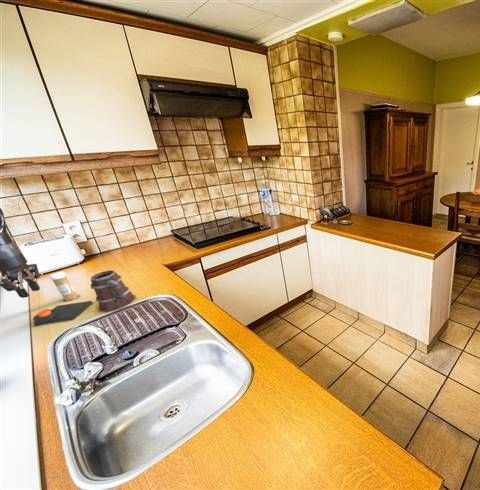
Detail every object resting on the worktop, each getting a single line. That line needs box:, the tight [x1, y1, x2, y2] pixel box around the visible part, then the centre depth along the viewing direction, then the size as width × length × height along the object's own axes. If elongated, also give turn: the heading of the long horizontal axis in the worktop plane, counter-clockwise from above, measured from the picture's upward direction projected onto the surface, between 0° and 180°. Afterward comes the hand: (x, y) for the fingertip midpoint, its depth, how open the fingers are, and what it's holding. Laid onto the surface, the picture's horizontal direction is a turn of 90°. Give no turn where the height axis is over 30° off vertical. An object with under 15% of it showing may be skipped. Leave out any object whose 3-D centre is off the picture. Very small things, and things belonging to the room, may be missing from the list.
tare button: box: [36, 308, 52, 318], centre depth 109 cm, size 4×4×2 cm
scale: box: [32, 300, 93, 326], centre depth 114 cm, size 14×12×3 cm
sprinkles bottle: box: [49, 271, 79, 302], centre depth 123 cm, size 5×5×14 cm
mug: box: [90, 270, 135, 312], centre depth 116 cm, size 16×12×15 cm
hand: (31, 293), depth 105 cm, fingers open, 4 cm apart
